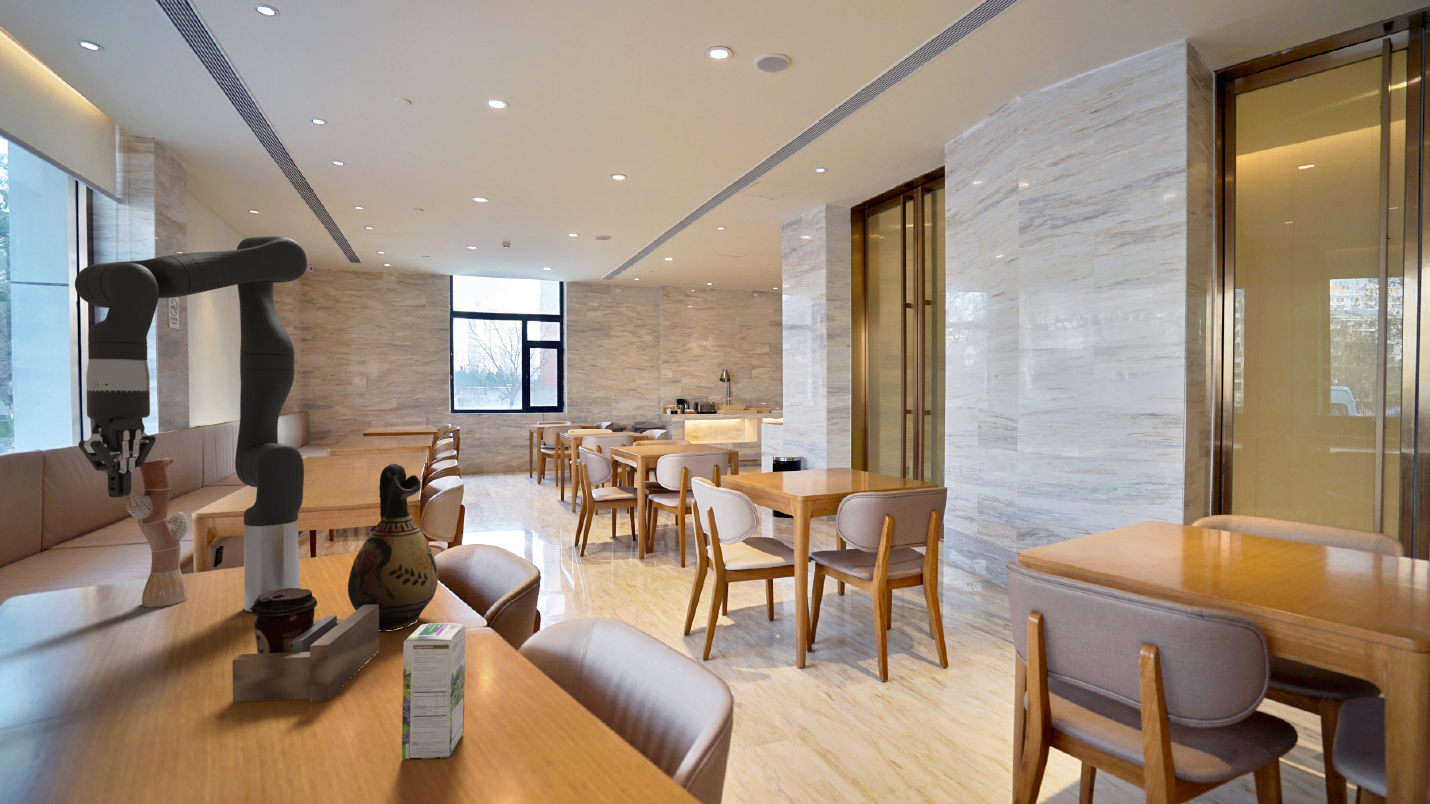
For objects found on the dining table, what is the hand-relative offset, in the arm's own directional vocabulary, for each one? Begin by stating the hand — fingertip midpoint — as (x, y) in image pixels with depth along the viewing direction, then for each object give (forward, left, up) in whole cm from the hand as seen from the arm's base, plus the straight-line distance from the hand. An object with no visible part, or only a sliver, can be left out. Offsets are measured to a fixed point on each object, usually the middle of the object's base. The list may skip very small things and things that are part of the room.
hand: (120, 496), depth 106 cm
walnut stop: (+8, +33, -27) cm, 43 cm away
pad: (+8, +33, -27) cm, 43 cm away
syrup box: (+31, +58, -27) cm, 71 cm away
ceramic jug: (-16, +36, -27) cm, 48 cm away
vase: (-32, -16, -27) cm, 45 cm away
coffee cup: (+8, +29, -27) cm, 40 cm away
